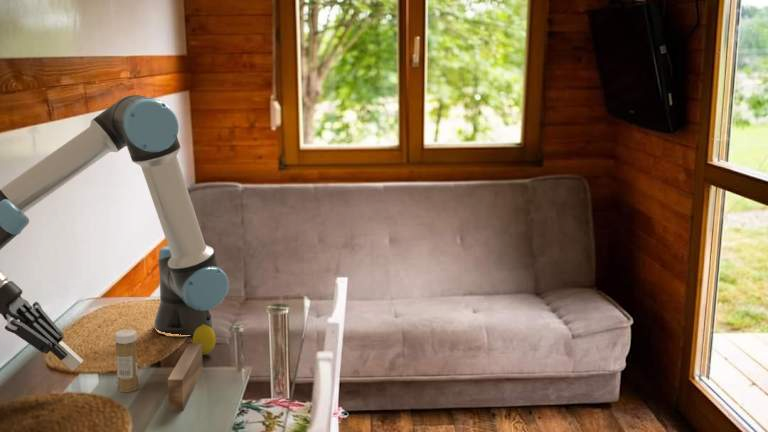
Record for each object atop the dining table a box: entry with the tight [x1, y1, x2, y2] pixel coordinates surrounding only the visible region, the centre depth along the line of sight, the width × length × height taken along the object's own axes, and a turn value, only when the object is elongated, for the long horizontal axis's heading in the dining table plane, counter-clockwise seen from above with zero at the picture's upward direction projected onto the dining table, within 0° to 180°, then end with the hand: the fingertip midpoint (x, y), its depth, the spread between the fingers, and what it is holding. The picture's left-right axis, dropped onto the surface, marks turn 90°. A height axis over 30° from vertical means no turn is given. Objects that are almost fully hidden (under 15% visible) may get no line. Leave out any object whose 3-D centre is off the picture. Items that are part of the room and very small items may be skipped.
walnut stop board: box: [167, 342, 203, 411], centre depth 174 cm, size 3×20×7 cm, turn 1°
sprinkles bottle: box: [114, 328, 140, 393], centre depth 173 cm, size 5×5×13 cm
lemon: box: [192, 324, 217, 356], centre depth 193 cm, size 6×6×8 cm
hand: (78, 365), depth 172 cm, fingers closed
